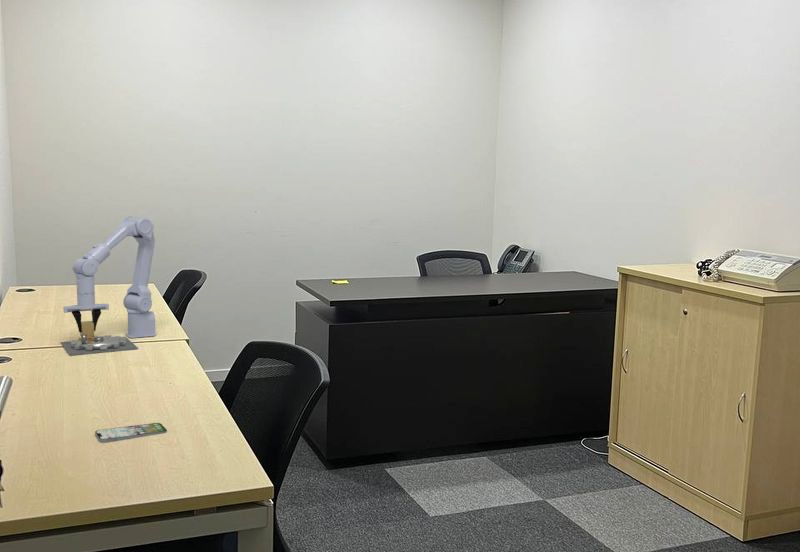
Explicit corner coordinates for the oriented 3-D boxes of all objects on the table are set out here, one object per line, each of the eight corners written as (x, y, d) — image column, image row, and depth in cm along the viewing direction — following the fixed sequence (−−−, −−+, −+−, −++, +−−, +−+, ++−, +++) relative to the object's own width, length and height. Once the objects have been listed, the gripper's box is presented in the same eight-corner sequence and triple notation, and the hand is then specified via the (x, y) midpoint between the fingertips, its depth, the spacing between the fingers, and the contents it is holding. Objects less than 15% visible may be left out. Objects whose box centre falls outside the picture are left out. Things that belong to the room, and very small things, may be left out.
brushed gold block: (92, 334, 271) (91, 320, 271) (94, 336, 268) (93, 322, 267) (80, 335, 269) (79, 321, 269) (82, 337, 266) (81, 323, 265)
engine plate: (125, 337, 281) (125, 336, 281) (138, 349, 263) (138, 348, 263) (60, 343, 270) (60, 342, 270) (69, 355, 252) (69, 354, 252)
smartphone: (168, 431, 180) (100, 440, 172) (168, 435, 180) (100, 444, 172) (159, 422, 186) (94, 430, 178) (159, 426, 186) (94, 435, 178)
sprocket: (102, 336, 279) (101, 325, 278) (137, 342, 270) (137, 330, 269) (59, 345, 263) (58, 333, 262) (95, 352, 254) (94, 339, 254)
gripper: (105, 290, 273) (106, 327, 275) (61, 292, 266) (63, 331, 268) (109, 292, 267) (110, 331, 269) (64, 295, 260) (66, 334, 262)
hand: (87, 331), depth 268 cm, fingers closed on brushed gold block, 4 cm apart
